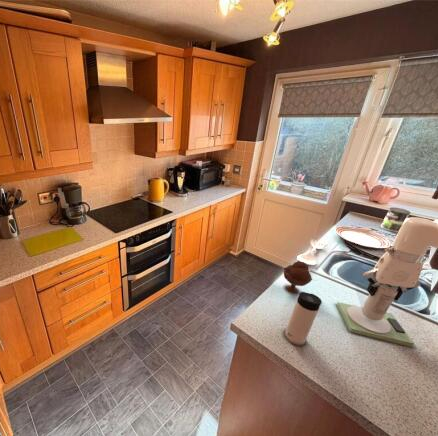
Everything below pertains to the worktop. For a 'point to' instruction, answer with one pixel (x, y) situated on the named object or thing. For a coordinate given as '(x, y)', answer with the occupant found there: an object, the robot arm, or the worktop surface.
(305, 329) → the travel mug
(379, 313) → the energy drink can
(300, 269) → the ice cream bowl
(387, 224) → the glass jar
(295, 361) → the worktop surface
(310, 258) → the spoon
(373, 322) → the kitchen scale
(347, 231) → the dinner plate
